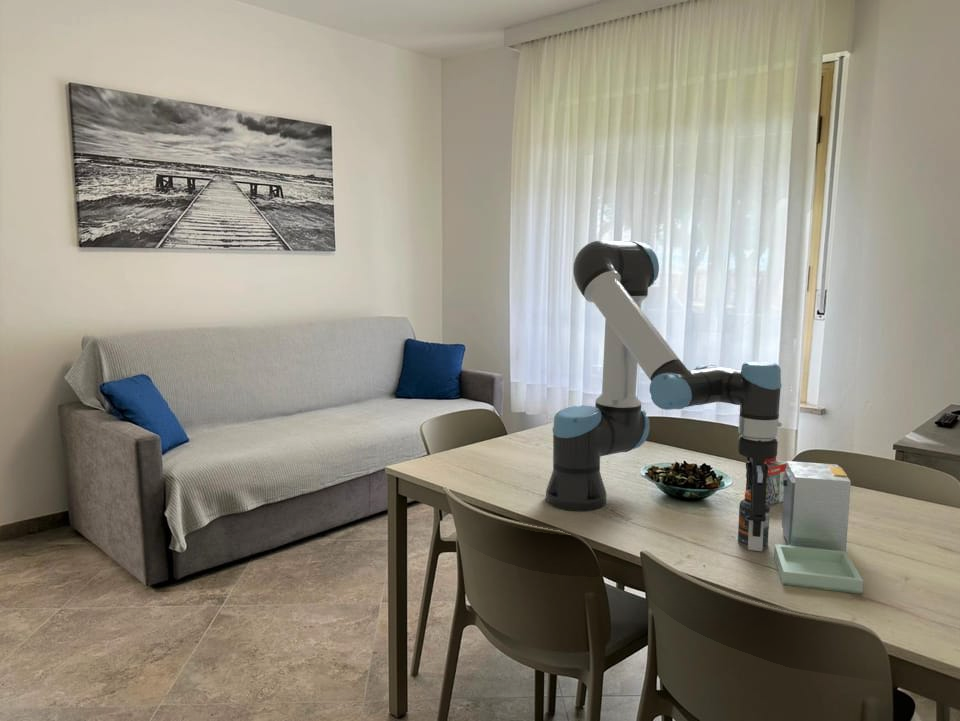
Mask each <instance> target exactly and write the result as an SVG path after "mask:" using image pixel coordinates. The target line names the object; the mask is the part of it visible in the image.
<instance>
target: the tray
mask: <svg viewBox="0 0 960 721" xmlns="http://www.w3.org/2000/svg"><path fill="white" fill-rule="evenodd" d="M773 547H774V548H773V557H774V560H775V563H776V567H777V571H778V573H779V576H780V579H781V582H782V585H783V586H792V587H798V588H807V589H815V590H826V591H832V592H833V591H834V592H839V593H841V592H842V593H849V594H856V595H857V594H858V595H863V592H864V591H863V590H864V579H863V577H862V576H861V575H860V574H861V573H860V572H859V571H858V569H857V568H856V566H855V564H854V562H853V561H852V558H851V557H850V555H849V554H848V552H847V551H846V552H845V551H836V550H826V549H817V548H807V547H797V546H788V544H787V545H786V544H776V543H775V544H774V546H773Z"/></svg>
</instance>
